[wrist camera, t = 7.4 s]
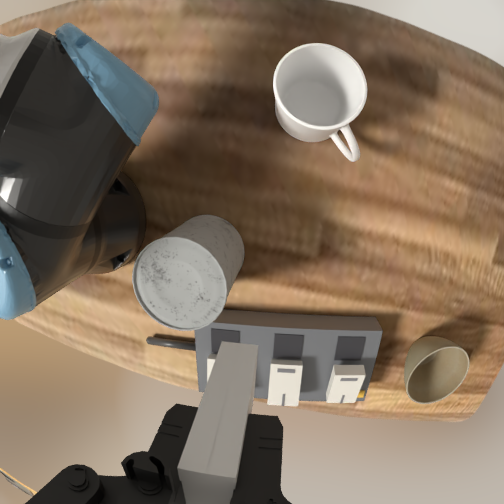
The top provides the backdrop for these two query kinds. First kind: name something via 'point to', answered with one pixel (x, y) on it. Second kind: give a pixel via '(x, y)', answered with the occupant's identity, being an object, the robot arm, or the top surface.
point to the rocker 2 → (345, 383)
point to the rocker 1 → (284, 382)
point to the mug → (320, 95)
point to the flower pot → (434, 369)
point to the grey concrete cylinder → (189, 272)
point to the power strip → (289, 346)
